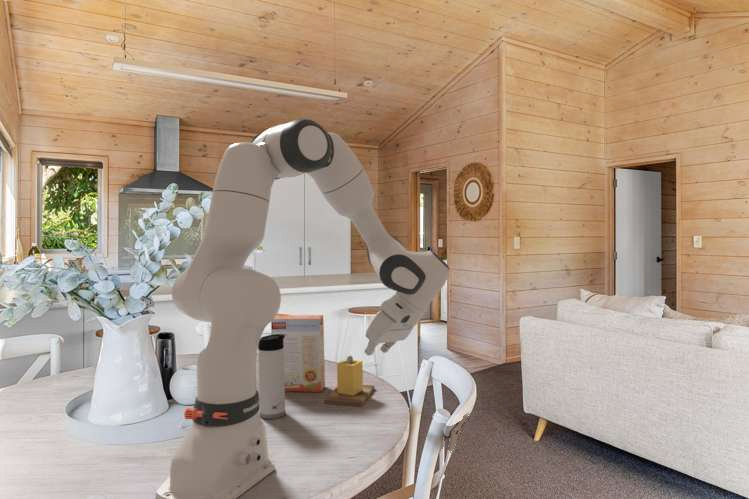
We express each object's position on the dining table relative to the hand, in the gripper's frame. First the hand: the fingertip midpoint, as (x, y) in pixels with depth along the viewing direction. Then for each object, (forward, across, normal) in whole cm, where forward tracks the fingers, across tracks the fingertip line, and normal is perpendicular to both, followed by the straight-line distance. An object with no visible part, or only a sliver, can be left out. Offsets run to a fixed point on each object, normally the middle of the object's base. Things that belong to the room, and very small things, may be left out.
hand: (375, 352), depth 135 cm
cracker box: (+25, -4, -14) cm, 29 cm away
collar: (+15, -5, -1) cm, 15 cm away
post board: (+16, -5, 0) cm, 17 cm away
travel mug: (+25, +15, -8) cm, 30 cm away
